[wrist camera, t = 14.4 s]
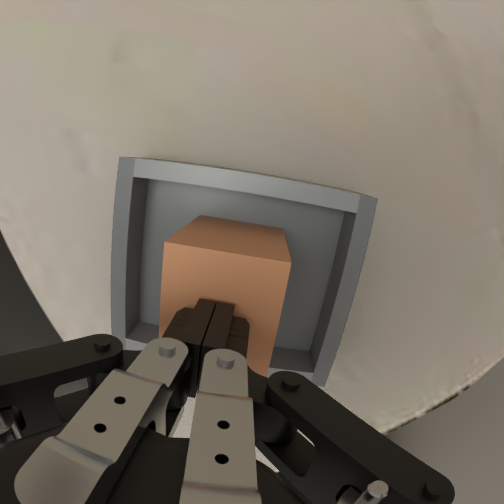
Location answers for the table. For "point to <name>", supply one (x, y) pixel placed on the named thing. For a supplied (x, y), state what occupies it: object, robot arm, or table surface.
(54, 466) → the robot arm
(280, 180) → the chassis bay
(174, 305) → the terracotta cube
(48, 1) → the table surface
